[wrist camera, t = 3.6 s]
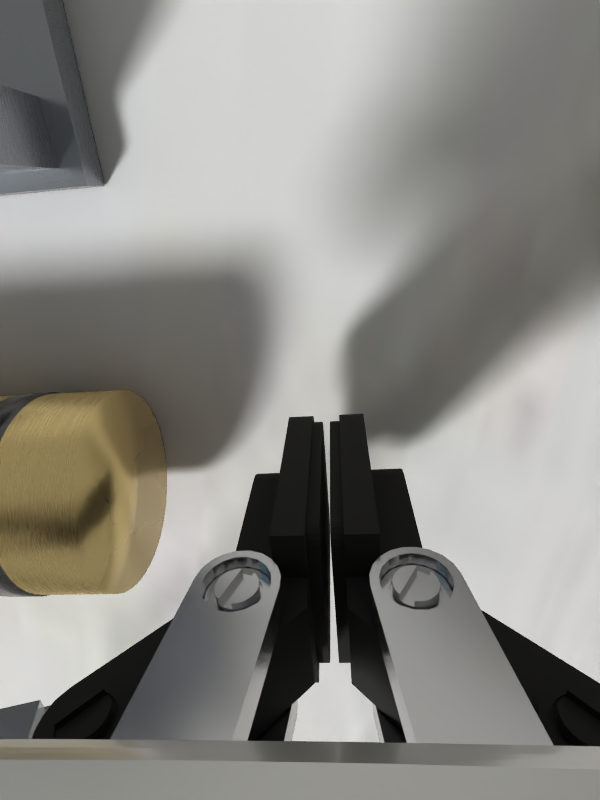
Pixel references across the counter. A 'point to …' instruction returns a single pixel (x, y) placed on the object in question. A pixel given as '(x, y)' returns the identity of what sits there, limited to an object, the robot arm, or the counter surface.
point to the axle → (78, 492)
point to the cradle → (42, 103)
